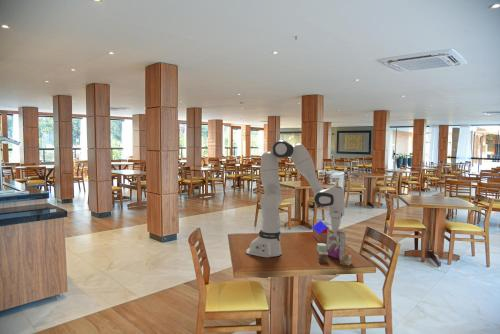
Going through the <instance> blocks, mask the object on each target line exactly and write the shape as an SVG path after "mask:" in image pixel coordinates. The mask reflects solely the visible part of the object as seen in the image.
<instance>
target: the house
mask: <svg viewBox="0 0 500 334" xmlns="http://www.w3.org/2000/svg"><path fill="white" fill-rule="evenodd" d="M327 229H331V228H330V227H329V226H328V225H326V224H325V223H324V222H322V220H319V221H318V222H317V223H316V224H315V225H313V226H312V237H314V239H315V240H317V242H318V243H325V244H327Z"/></svg>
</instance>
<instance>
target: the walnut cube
mask: <svg viewBox="0 0 500 334" xmlns="http://www.w3.org/2000/svg"><path fill="white" fill-rule="evenodd" d="M328 259H329V255H328V253H327V252H319V253H318V263H322V264H323V263H325V264H327V263H328ZM328 264H329V263H328Z"/></svg>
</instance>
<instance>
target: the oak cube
mask: <svg viewBox="0 0 500 334" xmlns="http://www.w3.org/2000/svg"><path fill="white" fill-rule="evenodd" d="M352 257H353V255H352V254H348V253H347V254H346V253H345V254H342V255H341V256H340V260H339V264H340V265H341V264H342V265H341V266H346V265H348V266H347V267H350V265H352V260H353V259H352Z"/></svg>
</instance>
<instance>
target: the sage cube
mask: <svg viewBox="0 0 500 334" xmlns="http://www.w3.org/2000/svg"><path fill="white" fill-rule="evenodd" d="M326 248H327V243H319V242H318V243H316V251H317V253H318V254H319V252H326Z"/></svg>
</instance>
